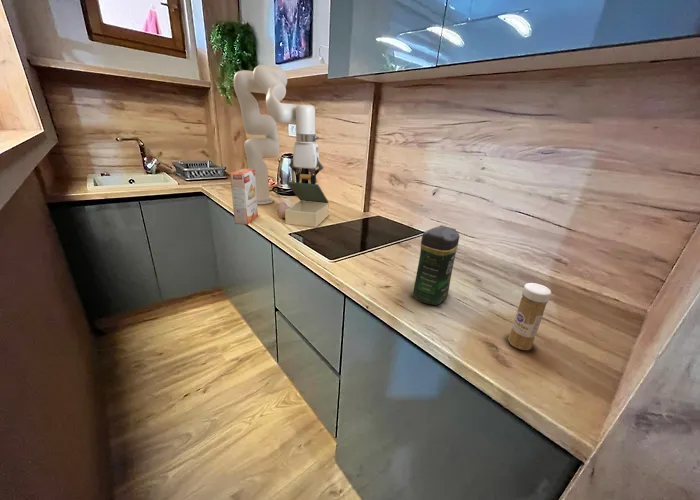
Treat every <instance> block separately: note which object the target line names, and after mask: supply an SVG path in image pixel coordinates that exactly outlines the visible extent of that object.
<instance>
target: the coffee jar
mask: <svg viewBox="0 0 700 500" xmlns="http://www.w3.org/2000/svg"><path fill="white" fill-rule="evenodd" d="M459 241H460V233H459V232H458V231H457V229H456V228H453V227H450V226H447V225H439V226H436V227H435V226H434V227H432V228H430V229H428V230H426V231H424V232H423V233H422V236H421V239H420V252H419V258H418V265H417V269H416V276H415V280H414V286H413V291H412V294H413V297H414V298H415V299H416V300H418V301H420V302H422V303H424V304H429V305H435V306H436V305H439V304H441V303H442V302H443V301H445V300H446V298H447V297H448V295H449V290H450V285H451V281H452V279H451V278H452V273H453V268H454V263H455V259H456V254H457V251H458V247H459Z"/></svg>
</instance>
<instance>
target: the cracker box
mask: <svg viewBox="0 0 700 500" xmlns="http://www.w3.org/2000/svg"><path fill="white" fill-rule="evenodd" d="M229 177H230V188H231V197H232V198H231V199H232V206H233V207H232V208H233V218H234V224H235V225H244V226H249V224H251V223H252V222H253V221H255V219H256V218H257V217H258V216H259V213H258V212H259V211H258V204H257V194H256V178H255V169H248V168H240V169H238V170H235V171H232V172H230V173H229Z"/></svg>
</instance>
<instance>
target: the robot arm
mask: <svg viewBox="0 0 700 500" xmlns="http://www.w3.org/2000/svg"><path fill="white" fill-rule="evenodd" d="M287 84H288V75H287V73H286V71H285V70H284V69H283V68H282V67H280V66H274V65H268V64H258V65H257V66H255V67H254V68H253V70H247V69H246V70H245V69H241V70H238V71H236V72H235V74H234V75H233V88H234V92H235V95H236V98H237V100H238V103H239V107H240V112H241V113H240V114H241V119H242V125H243V129H244V132H245V133H246V134H247V135H249V136H264V137H251V138H248V139H246V140H245V141H244V144H243V149H244V153H245V158H246V161H247V169H255V178H256V194H257V206H258V205H268V204H272V203H273V202H274V199H273V198H271V197H270V185H269V184H270V183H269V181H270V180H269V168H268V165H267V163H266V162H265V160H264V159H272V158H276V157H278V156H279V155H280V152H281V150H280V149H281V145H280V140H279V132H278V127H277V126H278V125H277V124H280V125H295V140H296V141H294V146H293V153H292V154H293V155H292V157H293V158H292V161H291V162H290V163H289V164H288V167H289V168H290V169H292V171H293V172H294V173H295V175H296V183H299V181H300V174H302V169H309V170H310V174H311V175H312V176H311V183H310V184H317V183H316V182H317V175H318V174H319V172H321V171H322V170H323V169H325V168H324V166H323V164H322V163H321V162H320V151H319V145H318V143H317V141H319V136H317V134H316V107H315V106H314V105H312V104H297V103H296V104H294V103H283V102H281V101H283V99H284V98H285V97H286V94H287V89H286V87H287ZM252 93H257V94H265V106H266V110H267V112H268V114H261V112H260V106H259V105H260V104H259V103H258V101H257V99H256V97H255V96H254V95H253V94H252ZM316 168H317V169H316ZM301 183H303V181H302V182H301Z"/></svg>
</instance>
